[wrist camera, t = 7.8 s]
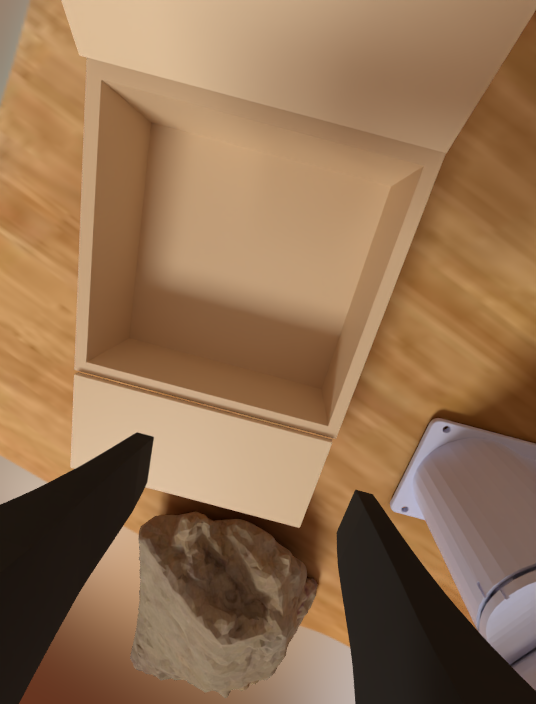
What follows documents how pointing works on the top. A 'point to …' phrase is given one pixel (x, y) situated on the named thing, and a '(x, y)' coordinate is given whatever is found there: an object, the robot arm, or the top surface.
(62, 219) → the top surface
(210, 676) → the artifact
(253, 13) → the cardboard box flap
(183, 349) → the carton
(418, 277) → the top surface
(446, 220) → the top surface
